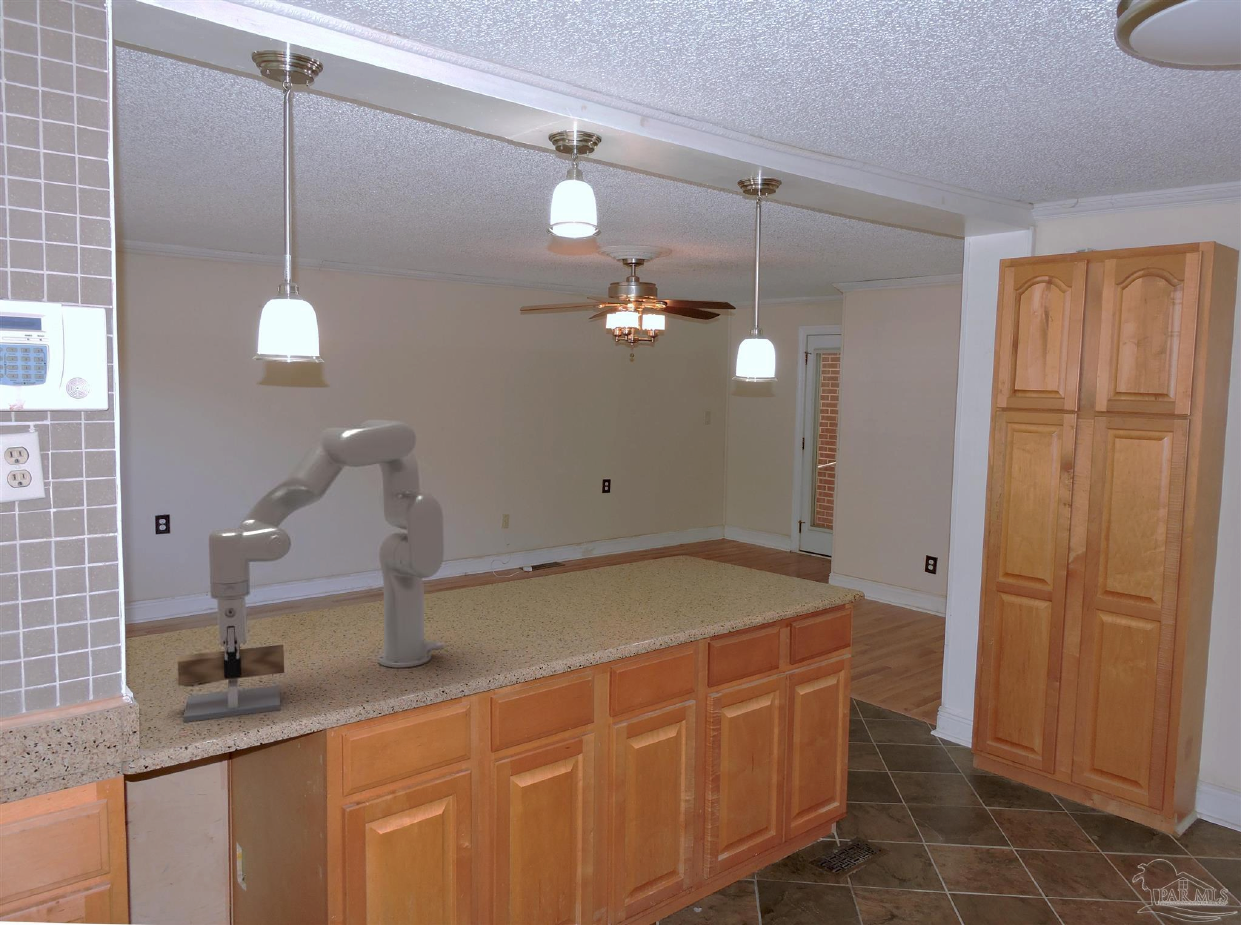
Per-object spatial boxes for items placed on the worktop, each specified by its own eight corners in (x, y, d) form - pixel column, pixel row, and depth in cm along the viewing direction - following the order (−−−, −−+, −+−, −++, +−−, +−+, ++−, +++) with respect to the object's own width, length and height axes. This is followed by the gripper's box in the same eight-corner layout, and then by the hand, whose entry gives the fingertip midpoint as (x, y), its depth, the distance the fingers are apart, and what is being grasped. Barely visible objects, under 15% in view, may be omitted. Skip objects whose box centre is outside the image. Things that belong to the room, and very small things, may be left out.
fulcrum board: (279, 690, 188) (278, 665, 187) (280, 709, 177) (279, 683, 176) (188, 701, 181) (187, 675, 180) (183, 722, 170) (182, 695, 169)
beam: (283, 666, 184) (283, 644, 183) (284, 672, 180) (283, 649, 180) (180, 678, 176) (179, 655, 176) (178, 685, 172) (177, 661, 172)
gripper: (249, 596, 170) (252, 684, 172) (250, 578, 185) (252, 659, 187) (208, 599, 167) (211, 689, 169) (212, 580, 182) (215, 663, 184)
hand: (233, 672), depth 178 cm, fingers closed on beam, 4 cm apart
